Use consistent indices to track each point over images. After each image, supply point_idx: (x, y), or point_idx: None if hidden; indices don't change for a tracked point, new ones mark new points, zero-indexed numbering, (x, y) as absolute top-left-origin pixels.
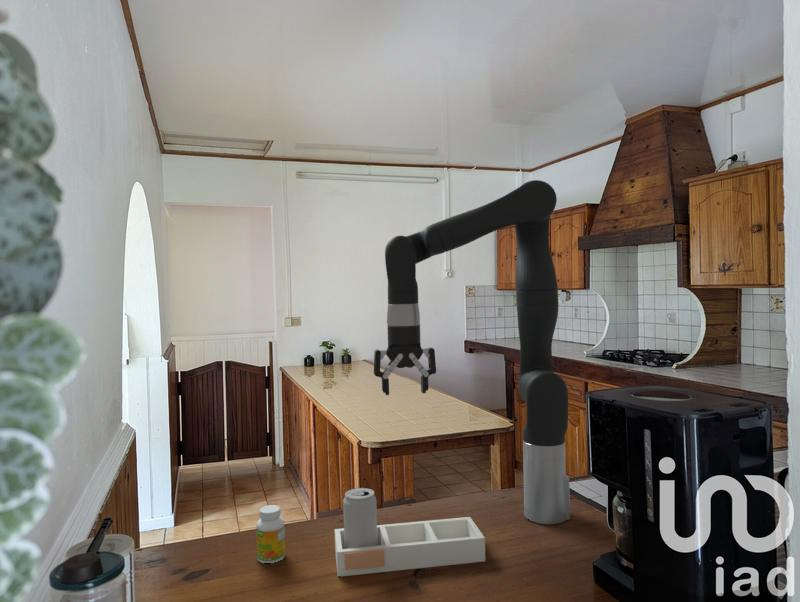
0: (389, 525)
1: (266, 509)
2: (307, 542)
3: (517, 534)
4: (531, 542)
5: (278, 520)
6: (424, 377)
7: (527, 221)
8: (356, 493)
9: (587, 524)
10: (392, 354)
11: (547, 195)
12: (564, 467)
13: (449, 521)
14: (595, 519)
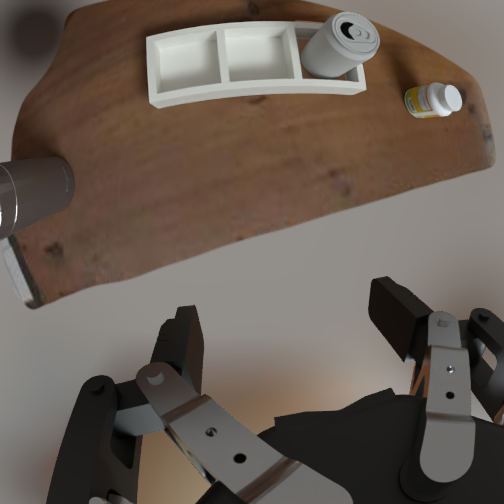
0: (287, 81)
1: (456, 97)
2: (386, 129)
3: (94, 124)
4: (84, 102)
5: (436, 90)
6: (171, 363)
7: None
8: (361, 32)
9: None
10: (491, 447)
11: None
12: None
13: (185, 88)
14: None
